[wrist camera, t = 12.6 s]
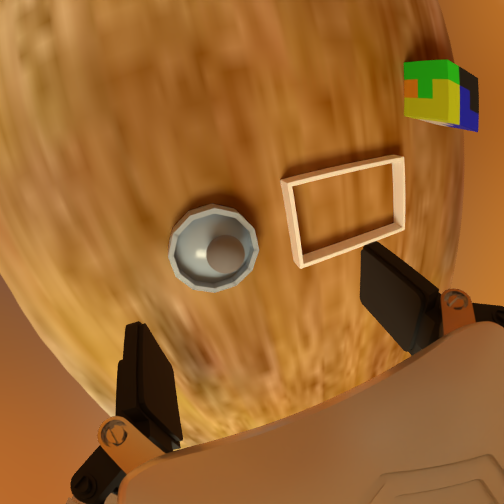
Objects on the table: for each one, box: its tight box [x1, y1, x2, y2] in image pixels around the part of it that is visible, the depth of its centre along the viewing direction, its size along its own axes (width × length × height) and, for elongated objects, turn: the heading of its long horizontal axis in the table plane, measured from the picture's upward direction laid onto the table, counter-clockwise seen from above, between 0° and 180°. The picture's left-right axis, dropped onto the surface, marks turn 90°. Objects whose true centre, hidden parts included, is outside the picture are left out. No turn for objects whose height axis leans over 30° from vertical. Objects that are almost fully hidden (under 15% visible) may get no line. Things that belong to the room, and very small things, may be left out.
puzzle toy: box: [404, 60, 479, 132], centre depth 34 cm, size 10×10×10 cm
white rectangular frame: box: [280, 155, 405, 269], centre depth 42 cm, size 13×21×2 cm, turn 102°
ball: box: [206, 235, 245, 274], centre depth 37 cm, size 5×5×5 cm
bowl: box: [168, 204, 259, 293], centre depth 39 cm, size 12×12×2 cm
